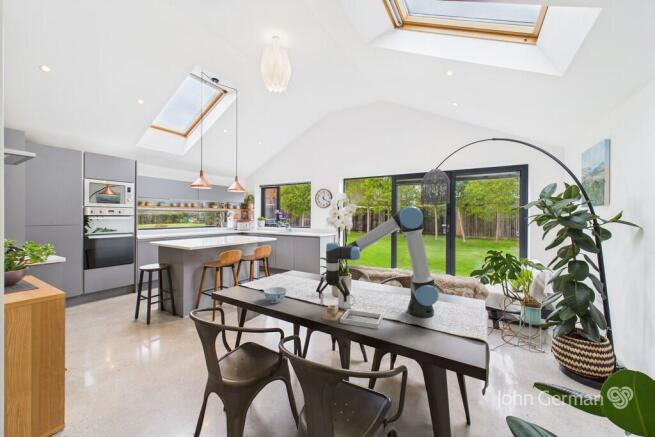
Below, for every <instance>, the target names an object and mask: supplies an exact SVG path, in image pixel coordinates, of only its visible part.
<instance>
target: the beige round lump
mask: <svg viewBox="0 0 655 437" xmlns="http://www.w3.org/2000/svg"><path fill="white" fill-rule="evenodd" d="M338 312H339V306H338V305H333V304H329V305H328V307H327V308H326V313H327V316H328V317H336V316H337V315H338Z"/></svg>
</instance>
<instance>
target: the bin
mask: <svg viewBox="0 0 655 437" xmlns="http://www.w3.org/2000/svg"><path fill="white" fill-rule="evenodd" d="M349 315H355V316H361V317H369V318H375V319H378V320H377V322H369V321H362V320H356V319H351V318H347V317H348V316H349ZM383 319H384V314H383V313H379V312H374V311H373V312H371V311H365V310H358V309H350V308H347V310H346V311H345V312H343V314H342V315H341V316H340V318H339V323H340V324H345V325H351V326H358V327H364V328H371V329H377V330H379V328H380V325H381V323H382V321H383Z"/></svg>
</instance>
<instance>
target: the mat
mask: <svg viewBox="0 0 655 437" xmlns="http://www.w3.org/2000/svg"><path fill="white" fill-rule="evenodd" d="M343 314H344V312H341V311H338V315H337V316H336V317H328V316H327V312H326V313H325V314H323V316H322V317H321V319H322V320H326V321H334V322H337V321H338V320H340V318H341V317H342V316H343Z"/></svg>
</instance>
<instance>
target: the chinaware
mask: <svg viewBox="0 0 655 437" xmlns="http://www.w3.org/2000/svg"><path fill="white" fill-rule="evenodd" d="M263 293H264V296H265V299H266V300H268V301H269V303H271V304H278V303H280V302H281V301H282V300H283V299H284V298H285V296H286V295H287V288H285V287H281V286H274V287H268V288H265V289H264V290H263Z"/></svg>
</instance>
